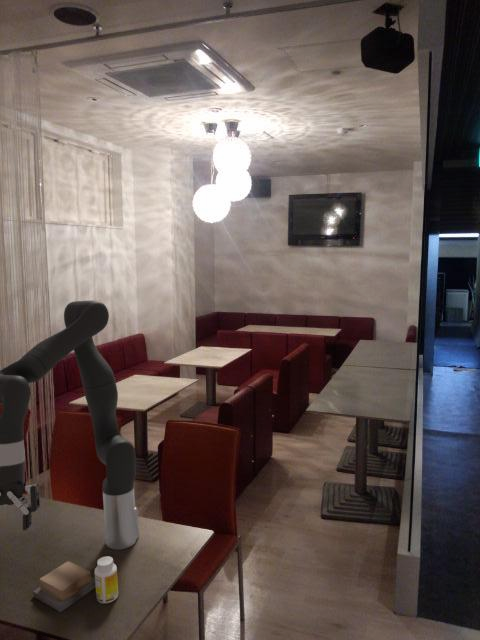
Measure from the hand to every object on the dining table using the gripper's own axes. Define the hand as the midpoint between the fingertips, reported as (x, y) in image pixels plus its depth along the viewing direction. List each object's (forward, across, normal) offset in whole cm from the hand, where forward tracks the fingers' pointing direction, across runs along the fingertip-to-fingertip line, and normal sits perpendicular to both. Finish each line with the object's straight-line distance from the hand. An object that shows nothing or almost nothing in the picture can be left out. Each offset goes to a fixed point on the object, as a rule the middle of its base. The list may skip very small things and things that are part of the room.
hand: (7, 529), depth 119 cm
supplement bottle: (+23, -21, -12) cm, 33 cm away
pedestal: (+22, -9, -15) cm, 28 cm away
